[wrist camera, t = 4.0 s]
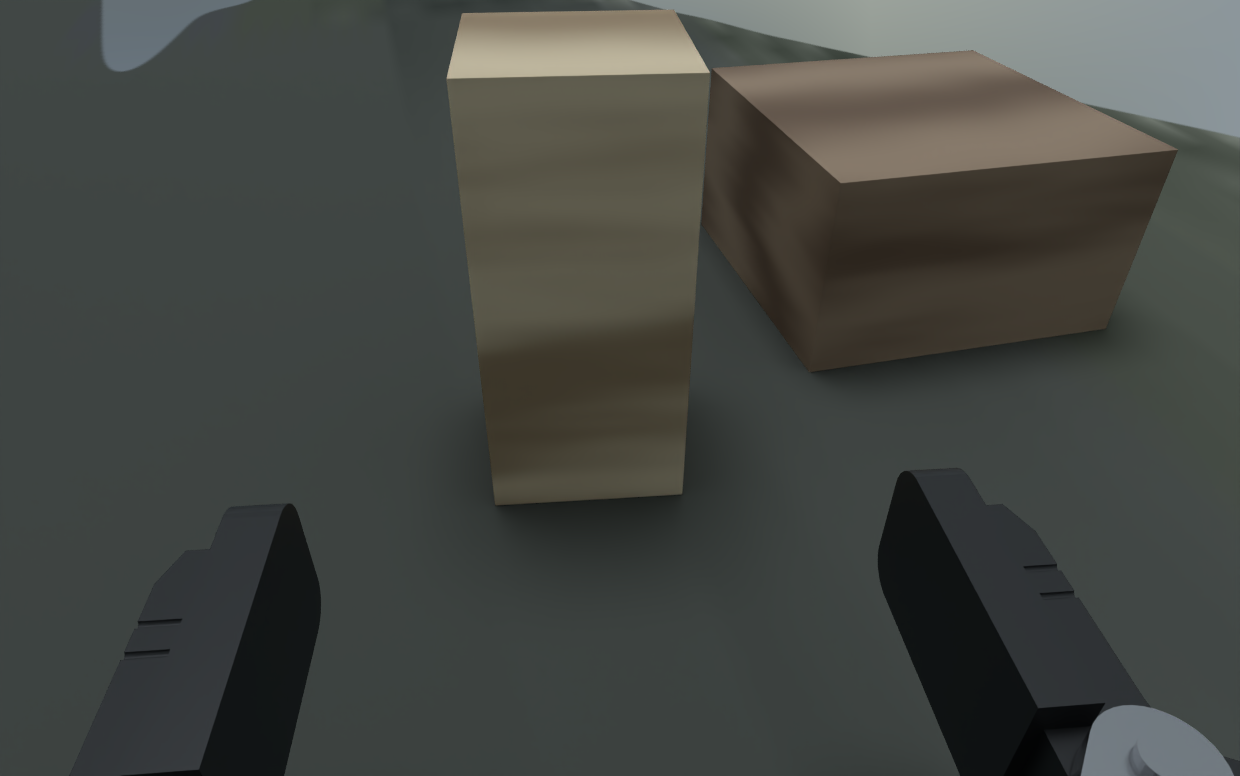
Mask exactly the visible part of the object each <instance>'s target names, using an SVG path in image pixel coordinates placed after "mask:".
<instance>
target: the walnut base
mask: <svg viewBox="0 0 1240 776" xmlns="http://www.w3.org/2000/svg"><path fill="white" fill-rule="evenodd" d="M1177 151H1178V149H1176V148H1173V147H1171V146H1169V145H1167V144H1165V143H1163V142H1161V141H1159V140H1157V139H1155V138H1153V137H1151V136H1149V135H1147V134H1145V133H1142V132H1140V131H1138V130H1136V129H1134V128H1132V127H1130V126H1128V125H1126V124H1124V123H1122V122H1120V121H1118V120H1116V119H1114V118H1112V117H1109V116H1107V115H1105V114H1103V113H1101V112H1099V111H1097V110H1095V109H1093V108H1091V107H1089V106H1087V105H1085V104H1083V103H1081V102H1078V101H1076V100H1074V99H1072V98H1070V97H1068V96H1066V95H1064V94H1062V93H1060V92H1058V91H1056V90H1054V89H1051V88H1049V87H1048V86H1045V85H1043V84H1041V83H1039V82H1037V81H1035V80H1033V79H1031V78H1029V77H1027V76H1025V75H1023V74H1021V73H1019V72H1016V71H1014V70H1012V69H1010V68H1008V67H1006V66H1004V65H1002V64H1000V63H998V62H996V61H994V60H991V59H989V58H988V57H985V56H983V55H981V54H979V53H977V52H975V51H973V50H971V51H957V52H942V53H927V54H914V55H898V56H884V57H869V58H855V59H840V60H826V61H811V62H797V63H782V64H768V65H753V66H738V67H724V68H712V73H711V88H710V103H709V118H708V133H707V148H706V163H705V178H704V192H703V207H702V222H701V224H702V226H703V227H704V228H705V230H706V231H707V233H708V234H709V235H710V237H711V238H712V239H713V241H714V242H715V244H716V245H717V246H718V248H719V249H720V250H721V252H722V253H723V255H724V256H725V257H726V259H727V260H728V261H729V263H730V264H731V265H732V267H733V268H734V270H735V271H736V272H737V274H738V275H739V276H740V278H741V279H742V281H743V282H744V283H745V285H746V286H747V287H748V289H749V290H750V292H751V293H752V294H753V296H754V297H755V298H756V300H757V301H758V303H759V304H760V305H761V307H762V308H763V309H764V311H765V312H766V314H767V315H768V316H769V318H770V319H771V320H772V322H773V323H774V325H775V326H776V327H777V329H778V330H779V331H780V333H781V334H782V336H783V337H784V338H785V340H786V341H787V342H788V344H789V345H790V347H791V348H792V349H793V351H794V352H795V353H796V355H797V356H798V358H799V359H800V360H801V362H802V363H803V364H804V366H805V367H806V369H807V370H808V371H809V372H815V371H821V370H828V369H835V368H842V367H849V366H856V365H862V364H869V363H876V362H883V361H890V360H896V359H903V358H910V357H917V356H924V355H930V354H937V353H944V352H951V351H958V350H964V349H971V348H978V347H985V346H992V345H998V344H1005V343H1012V342H1019V341H1026V340H1032V339H1039V338H1046V337H1053V336H1060V335H1066V334H1073V333H1080V332H1087V331H1094V330H1100V329H1106V327H1107V324H1108V322H1109V319H1110V317H1111V314H1112V312H1113V309H1114V307H1115V305H1116V302H1117V300H1118V297H1119V295H1120V292H1121V290H1122V287H1123V285H1124V282H1125V280H1126V277H1127V275H1128V272H1129V270H1130V267H1131V265H1132V262H1133V260H1134V258H1135V255H1136V253H1137V250H1138V248H1139V245H1140V243H1141V240H1142V238H1143V235H1144V233H1145V230H1146V228H1147V225H1148V223H1149V220H1150V218H1151V215H1152V213H1153V211H1154V208H1155V206H1156V203H1157V201H1158V198H1159V196H1160V193H1161V191H1162V188H1163V186H1164V183H1165V181H1166V178H1167V176H1168V173H1169V171H1170V168H1171V166H1172V163H1173V161H1174V159H1175V156H1176V154H1177Z"/></svg>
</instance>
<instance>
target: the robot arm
mask: <svg viewBox="0 0 1240 776" xmlns="http://www.w3.org/2000/svg"><path fill="white" fill-rule="evenodd" d="M878 571H879V578H880V583H881V587H882V590H883V593H884V596H885V598H886V600H887V603H888V605H889V607H890V610H891V612H892V615H893V617H894V619H895V622H896V624H897V626H898V629H899V631H900V634H901V636H902V638H903V641H904V643H905V645H906V648H907V650H908V653H909V655H910V657H911V660H912V662H913V664H914V667H915V669H916V672H917V674H918V676H919V679H920V681H921V683H922V686H923V688H924V691H925V693H926V695H927V698H928V700H929V702H930V705H931V707H932V710H933V712H934V714H935V717H936V719H937V721H938V724H939V726H940V729H941V731H942V733H943V736H944V738H945V740H946V743H947V745H948V748H949V750H950V752H951V755H952V757H953V759H954V762H955V764H956V767H957V769H958V771H959V774H960V776H1240V761H1238V760H1234V759H1230V758H1227V757H1224V756H1222V755H1221V753H1220V752H1219V751H1218V750H1217V749H1216V747H1215V746H1214V745H1213V744H1212V743H1211V742H1210V741H1209V740H1207V739H1206V738H1205V737H1204V736H1203V735H1202V734H1201V733H1199V732H1198V731H1197V730H1195V729H1194V728H1193V727H1191V726H1190V725H1188V724H1187V723H1185V722H1183V721H1182V720H1180V719H1178V718H1176V717H1174V716H1172V715H1170V714H1168V713H1165V712H1162V711H1160V710H1157V709H1153V708H1151V707H1150V706H1149V704H1148V703H1147V701H1146V700H1145V699H1144V697H1143V696H1142V694H1141V693H1140V691H1139V690H1138V688H1137V687H1136V685H1135V684H1134V682H1133V681H1132V679H1131V677H1130V676H1129V674H1128V673H1127V671H1126V670H1125V668H1124V667H1123V665H1122V664H1121V662H1120V660H1119V659H1118V657H1117V656H1116V654H1115V653H1114V651H1113V650H1112V648H1111V647H1110V645H1109V644H1108V642H1107V640H1106V639H1105V637H1104V636H1103V634H1102V633H1101V631H1100V630H1099V628H1098V627H1097V625H1096V623H1095V622H1094V620H1093V619H1092V617H1091V616H1090V614H1089V613H1088V611H1087V610H1086V608H1085V606H1084V605H1083V603H1082V602H1081V600H1080V599H1079V598H1075V596H1074V590H1073V588H1072V586H1071V585H1070V583H1069V582H1068V580H1067V579H1066V577H1065V576H1064V574H1063V573H1062V571H1058V570H1057V563H1056V562H1055V560H1054V559H1053V557H1052V556H1051V554H1050V552H1049V551H1048V549H1047V548H1046V546H1045V545H1044V543H1043V542H1042V540H1041V539H1040V537H1039V536H1038V534H1037V532H1036V531H1035V530H1033V529H1032V528H1031V527H1030V526H1029V525H1027V524H1026V523H1025V522H1024V521H1022V520H1021V519H1020V518H1019V517H1018V516H1016V515H1015V514H1014V513H1013V512H1012V511H1010V510H1009V509H1008V508H1007V507H1005V506H1004V505H1003V504H998V505H986V504H985V503H984V501H983V499H982V498H981V496H980V494H979V493H978V491H977V489H976V488H975V486H974V484H973V483H972V481H971V479H970V478H969V476H968V475H967V474H966V473H965V472H964V471H963V470H962V469H959V468H949V469H931V470H913V471H904V472H902V473H901V474H900V475H899V477H898V479H897V482H896V486H895V489H894V493H893V497H892V500H891V504H890V508H889V512H888V515H887V519H886V523H885V526H884V530H883V534H882V538H881V541H880V545H879V550H878ZM320 614H321V595H320V586H319V581H318V578H317V574H316V571H315V568H314V565H313V561H312V558H311V555H310V551H309V548H308V545H307V542H306V538H305V535H304V532H303V529H302V525H301V522H300V519H299V516H298V513H297V510H296V508H295V507H294V506H293V505H292V504H272V505H254V506H236V507H230V508H229V509H228V510H227V511H226V512H225V513H224V515H223V518H222V520H221V522H220V525H219V527H218V530H217V532H216V535H215V538H214V540H213V543H212V545H211V548H210V549H205V550H188V551H185V552H184V553H183V554H182V555H181V556H180V557H179V559H178V560H177V561H176V562H175V563H174V564H173V565H172V566H171V567H170V568H169V569H168V570H167V571H166V572H165V573H164V574H163V575H162V576H161V578H160V579H159V580H158V581H157V582H156V583H155V584H154V586H153V588H152V591H151V593H150V595H149V597H148V600H147V602H146V604H145V606H144V609H143V611H142V613H141V615H140V618H139V620H138V628H137V629H134V631H133V633H132V636H131V638H130V640H129V642H128V645H127V647H126V649H125V651H124V653H125V657H124V660H120V663H119V665H118V667H117V669H116V672H115V674H114V676H113V678H112V681H111V683H110V685H109V687H108V690H107V692H106V694H105V696H104V699H103V701H102V703H101V705H100V708H99V710H98V712H97V714H96V717H95V719H94V721H93V723H92V726H91V728H90V730H89V732H88V735H87V737H86V739H85V741H84V744H83V746H82V748H81V750H80V753H79V755H78V757H77V759H76V762H75V764H74V766H73V768H72V771H71V773H70V775H69V776H284V774H285V769H286V765H287V761H288V757H289V752H290V748H291V744H292V740H293V735H294V731H295V727H296V723H297V719H298V714H299V710H300V706H301V702H302V697H303V693H304V689H305V685H306V680H307V676H308V672H309V668H310V663H311V659H312V655H313V651H314V646H315V642H316V638H317V634H318V629H319V623H320Z"/></svg>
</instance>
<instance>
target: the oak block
mask: <svg viewBox="0 0 1240 776" xmlns="http://www.w3.org/2000/svg"><path fill="white" fill-rule="evenodd" d="M709 78H710V72H709V70H708V69H707V67H706V65H705V63H704V62H703V60H702V58H701V56H700V55H699V53H698V51H697V49H696V48H695V46H694V44H693V42H692V41H691V39H690V37H689V35H688V34H687V32H686V30H685V28H684V27H683V25H682V23H681V21H680V20H679V18H678V16H677V14H676V13H675V11H674V10H628V11H569V12H510V13H462V17H461V21H460V25H459V29H458V33H457V37H456V42H455V46H454V50H453V54H452V58H451V62H450V67H449V71H448V75H447V87H448V95H449V104H450V113H451V122H452V130H453V139H454V148H455V157H456V165H457V174H458V183H459V192H460V201H461V209H462V218H463V227H464V236H465V244H466V253H467V262H468V271H469V279H470V288H471V297H472V306H473V314H474V323H475V332H476V341H477V350H478V358H479V367H480V376H481V385H482V393H483V402H484V411H485V420H486V428H487V437H488V446H489V455H490V463H491V472H492V481H493V490H494V498H495V505H511V504H528V503H545V502H562V501H579V500H596V499H613V498H630V497H647V496H665V495H682V491H683V476H684V460H685V445H686V430H687V414H688V399H689V384H690V369H691V353H692V338H693V323H694V307H695V292H696V277H697V261H698V246H699V231H700V215H701V200H702V185H703V169H704V154H705V139H706V123H707V108H708V93H709Z"/></svg>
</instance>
